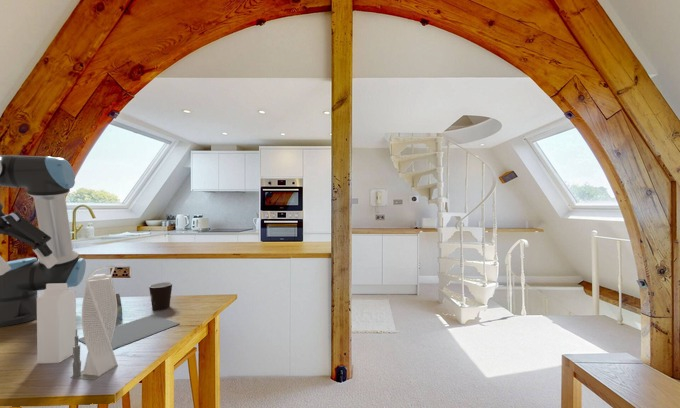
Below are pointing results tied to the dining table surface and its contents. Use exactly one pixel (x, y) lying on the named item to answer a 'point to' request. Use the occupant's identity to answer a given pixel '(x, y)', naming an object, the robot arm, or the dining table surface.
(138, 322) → the mat
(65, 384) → the dining table surface
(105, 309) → the skyscraper
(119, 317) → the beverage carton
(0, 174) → the robot arm
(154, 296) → the coffee mug
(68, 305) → the milk
